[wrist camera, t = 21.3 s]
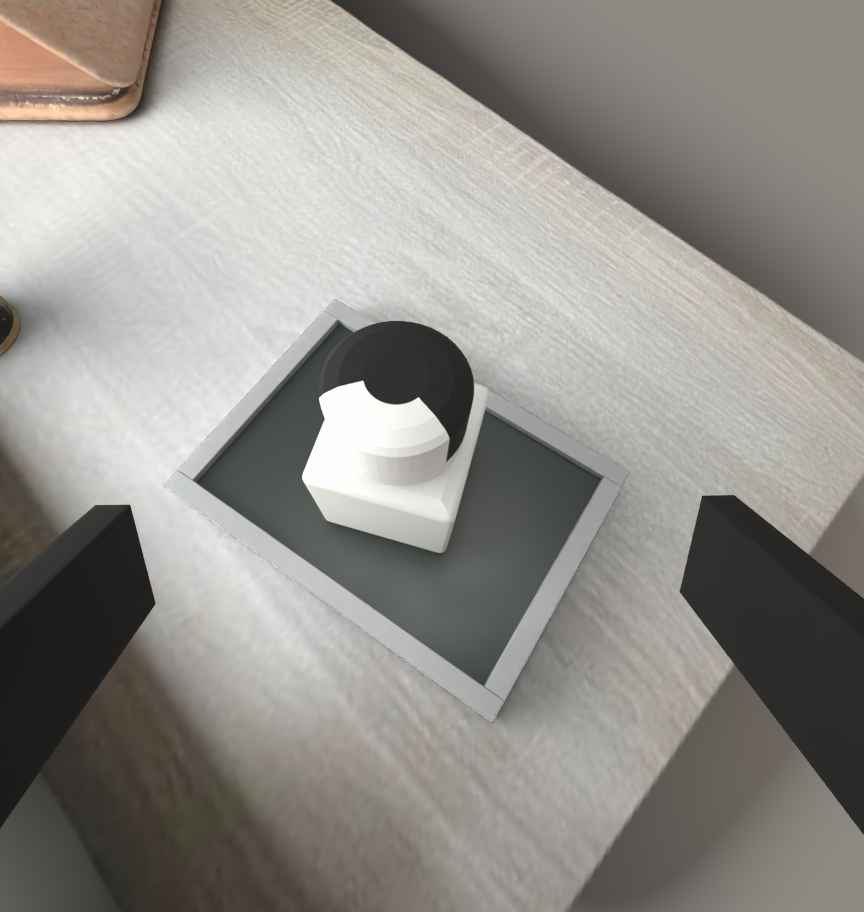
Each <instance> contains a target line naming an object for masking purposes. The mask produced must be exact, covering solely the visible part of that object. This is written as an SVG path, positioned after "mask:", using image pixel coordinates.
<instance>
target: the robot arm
mask: <svg viewBox="0 0 864 912" xmlns="http://www.w3.org/2000/svg"><path fill="white" fill-rule="evenodd" d="M680 593H681V594H682V596H683V597H684V598H685V600H686V601H687V602H688V603H689V605H690V606H691V607H692V609H693V610H694V611H695V613H696V614H697V615H698V617H699V618H700V619H701V621H702V622H703V623H704V625H705V626H706V627H707V629H708V630H709V631H710V633H711V634H712V635H713V636H714V638H715V639H716V640H717V642H718V643H719V644H720V646H721V647H722V648H723V650H724V651H725V652H726V654H727V655H728V656H729V658H730V659H731V660H732V662H733V663H734V664H735V665H736V667H737V668H738V669H739V671H740V672H741V673H742V675H743V676H744V677H745V679H746V680H747V681H748V683H749V684H750V685H751V686H752V688H753V689H754V690H755V692H756V693H757V694H758V696H759V697H760V698H761V700H762V701H763V702H764V704H765V705H766V706H767V708H768V709H769V710H770V712H771V713H772V714H773V716H774V717H775V718H776V720H777V721H778V722H779V724H780V725H781V726H782V727H783V729H784V730H785V731H786V733H787V734H788V735H789V737H790V738H791V739H792V741H793V742H794V743H795V745H796V746H797V747H798V749H799V750H800V751H801V753H802V754H803V755H804V756H805V758H806V759H807V760H808V762H809V763H810V764H811V766H812V767H813V768H814V769H815V771H816V772H817V774H818V775H819V776H820V778H821V779H822V780H823V781H824V783H825V784H826V786H827V787H828V788H829V789H830V791H831V792H832V793H833V795H834V796H835V797H836V799H837V800H838V801H839V803H840V804H841V805H842V806H843V808H844V809H845V811H846V812H847V813H848V814H849V816H850V817H851V818H852V820H853V821H854V822H855V824H856V825H857V826H858V828H859V829H860V830H861V832H862V833H863V834H864V599H863V598H862V597H861V596H860V595H858V594H857V593H856V592H854V591H853V590H852V589H851V588H850V587H848V586H847V585H846V584H845V583H843V582H842V581H841V580H839V579H838V578H837V577H836V576H834V575H833V574H832V573H831V572H830V571H828V570H827V569H826V568H824V567H823V566H822V565H821V564H820V563H818V562H817V561H816V560H814V559H813V558H812V557H811V556H810V555H808V554H807V553H806V552H805V551H803V550H802V549H801V548H800V547H798V546H797V545H796V544H795V543H793V542H792V541H791V540H790V539H788V538H787V537H786V536H784V535H783V534H782V533H781V532H779V531H778V530H777V529H776V528H774V527H773V526H772V525H771V524H769V523H768V522H767V521H766V520H764V519H763V518H762V517H761V516H759V515H758V514H757V513H756V512H754V511H753V510H752V509H751V508H749V507H748V506H747V505H746V504H744V503H743V502H742V501H741V500H739V499H738V498H737V497H736V496H734V495H721V496H702V499H701V503H700V508H699V512H698V516H697V520H696V525H695V529H694V533H693V537H692V542H691V546H690V550H689V554H688V559H687V563H686V567H685V571H684V576H683V580H682V584H681V588H680ZM154 605H155V600H154V596H153V592H152V588H151V584H150V580H149V576H148V572H147V569H146V565H145V561H144V557H143V553H142V549H141V545H140V541H139V537H138V533H137V530H136V526H135V522H134V518H133V514H132V510H131V506H130V505H95V506H94V507H93V508H92V509H90V510H89V511H88V512H87V513H86V514H85V515H83V516H82V517H81V518H80V519H79V520H78V521H76V522H75V523H74V524H73V525H72V526H70V527H69V528H68V529H67V530H66V531H65V532H63V533H62V534H61V535H60V536H59V537H58V538H56V539H55V540H54V541H53V542H52V543H51V544H49V545H48V546H47V547H46V548H45V549H44V550H42V551H41V552H40V553H39V554H38V555H37V556H35V557H34V558H33V559H32V560H31V561H30V562H28V563H27V564H26V565H25V566H24V567H23V568H21V569H20V570H19V571H18V572H17V573H16V574H14V575H13V576H12V577H11V578H10V579H9V580H7V581H6V582H5V583H4V584H3V585H2V586H0V828H1V826H2V825H3V823H4V822H5V821H6V819H7V818H8V816H9V815H10V814H11V812H12V811H13V809H14V808H15V806H16V805H17V803H18V802H19V801H20V799H21V798H22V796H23V795H24V793H25V792H26V790H27V789H28V788H29V786H30V785H31V783H32V782H33V780H34V779H35V777H36V776H37V775H38V773H39V772H40V770H41V769H42V767H43V766H44V764H45V763H46V761H47V760H48V759H49V757H50V756H51V754H52V753H53V751H54V750H55V748H56V747H57V746H58V744H59V743H60V741H61V740H62V738H63V737H64V735H65V734H66V733H67V731H68V730H69V728H70V727H71V725H72V724H73V722H74V721H75V720H76V718H77V717H78V715H79V714H80V712H81V711H82V709H83V708H84V707H85V705H86V704H87V702H88V701H89V699H90V698H91V696H92V695H93V694H94V692H95V691H96V689H97V688H98V686H99V685H100V683H101V682H102V681H103V679H104V678H105V676H106V675H107V673H108V672H109V670H110V669H111V668H112V666H113V665H114V663H115V662H116V660H117V659H118V657H119V656H120V654H121V653H122V652H123V650H124V649H125V647H126V646H127V644H128V643H129V641H130V640H131V639H132V637H133V636H134V634H135V633H136V631H137V630H138V628H139V627H140V626H141V624H142V623H143V621H144V620H145V618H146V617H147V615H148V614H149V613H150V611H151V610H152V608H153V607H154Z"/></svg>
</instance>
